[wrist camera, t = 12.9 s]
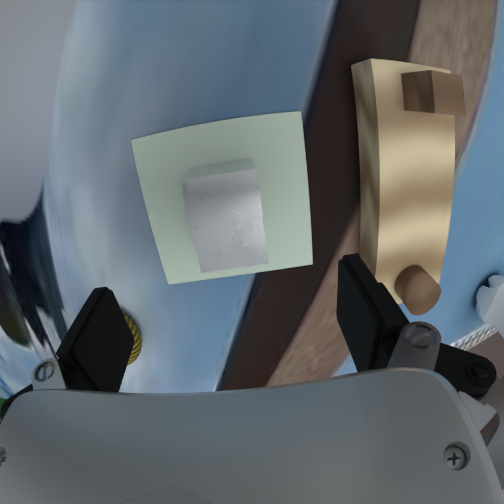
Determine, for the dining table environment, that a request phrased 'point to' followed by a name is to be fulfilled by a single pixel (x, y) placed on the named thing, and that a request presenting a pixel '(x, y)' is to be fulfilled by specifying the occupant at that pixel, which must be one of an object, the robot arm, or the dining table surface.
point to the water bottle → (492, 303)
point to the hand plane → (406, 173)
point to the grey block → (225, 215)
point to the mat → (221, 150)
